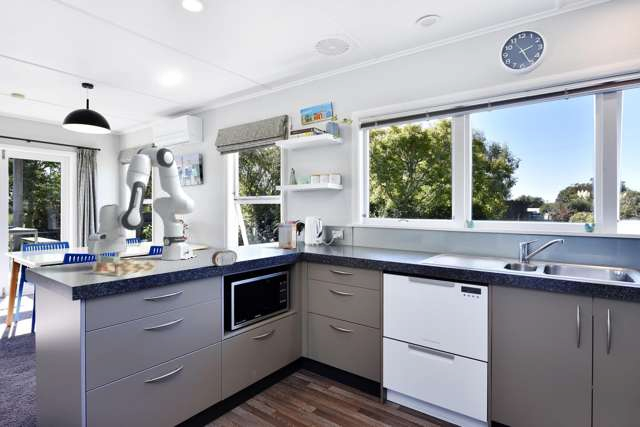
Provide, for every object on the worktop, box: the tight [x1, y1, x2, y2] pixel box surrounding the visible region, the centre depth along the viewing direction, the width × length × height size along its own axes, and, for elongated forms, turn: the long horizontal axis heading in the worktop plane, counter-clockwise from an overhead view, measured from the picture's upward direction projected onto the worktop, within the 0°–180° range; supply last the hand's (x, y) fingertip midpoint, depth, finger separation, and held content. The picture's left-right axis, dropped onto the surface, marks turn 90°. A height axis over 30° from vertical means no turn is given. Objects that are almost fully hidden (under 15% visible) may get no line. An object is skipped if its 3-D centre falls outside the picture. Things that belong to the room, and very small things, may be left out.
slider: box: [95, 255, 121, 265], centre depth 179 cm, size 4×12×6 cm, turn 71°
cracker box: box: [278, 222, 297, 249], centre depth 281 cm, size 14×6×21 cm, turn 58°
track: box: [92, 259, 156, 277], centre depth 170 cm, size 22×16×5 cm
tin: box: [211, 249, 238, 267], centre depth 191 cm, size 15×3×8 cm, turn 141°
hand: (108, 261), depth 178 cm, fingers open, 8 cm apart
